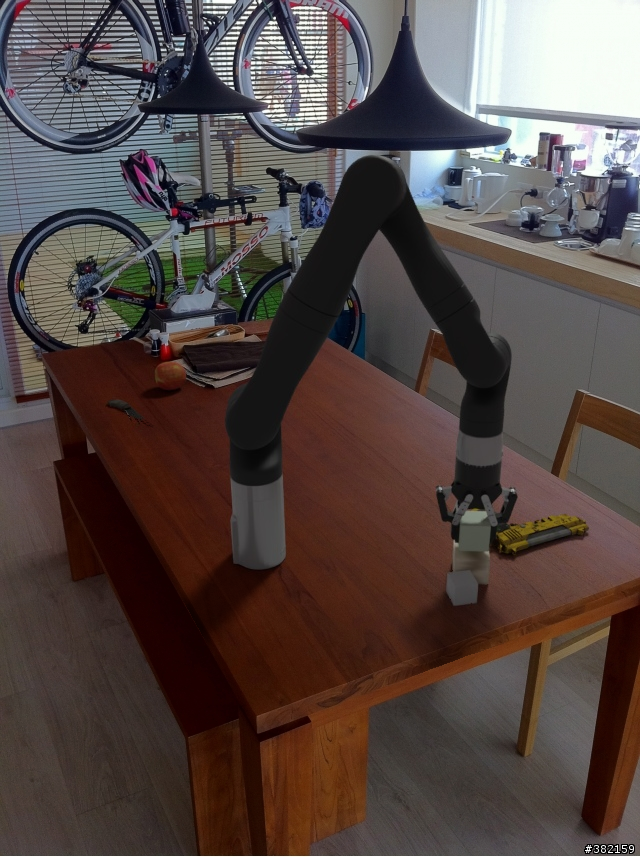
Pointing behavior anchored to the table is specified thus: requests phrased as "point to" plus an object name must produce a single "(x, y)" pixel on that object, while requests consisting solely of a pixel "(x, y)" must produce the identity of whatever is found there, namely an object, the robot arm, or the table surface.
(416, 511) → the table surface
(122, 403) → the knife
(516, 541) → the toy gun
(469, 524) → the green cube
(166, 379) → the apple
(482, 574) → the maple block
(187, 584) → the table surface
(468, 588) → the grey block
